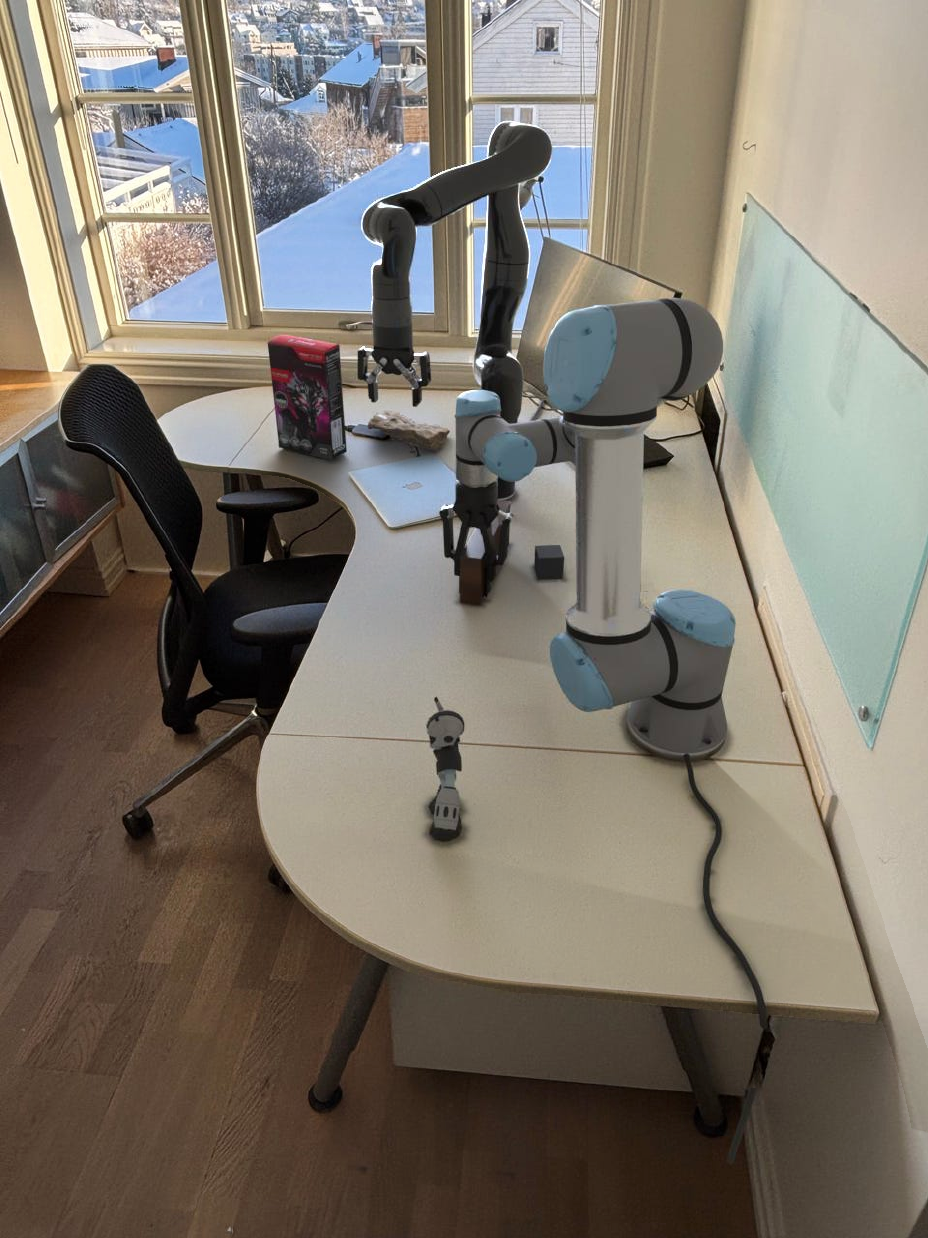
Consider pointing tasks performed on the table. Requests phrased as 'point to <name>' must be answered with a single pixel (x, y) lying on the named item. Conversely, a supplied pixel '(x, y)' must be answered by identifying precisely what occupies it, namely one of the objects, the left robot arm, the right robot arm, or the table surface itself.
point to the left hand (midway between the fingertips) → (395, 403)
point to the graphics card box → (308, 395)
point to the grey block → (549, 562)
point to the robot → (446, 772)
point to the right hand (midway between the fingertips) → (474, 591)
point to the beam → (478, 561)
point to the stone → (408, 430)
